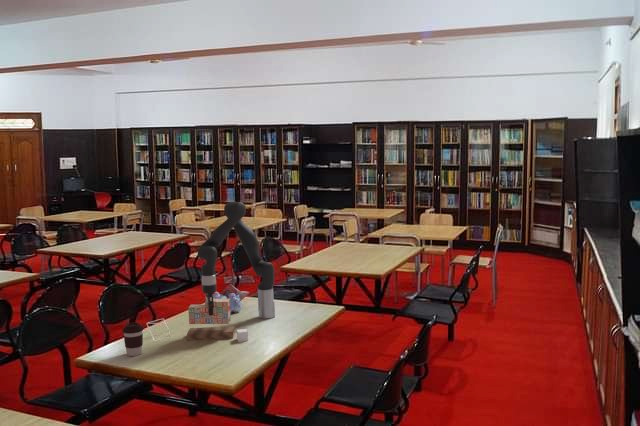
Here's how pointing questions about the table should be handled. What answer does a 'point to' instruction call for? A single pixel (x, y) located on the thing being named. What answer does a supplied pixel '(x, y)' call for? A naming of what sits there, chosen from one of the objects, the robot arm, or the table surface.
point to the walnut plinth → (211, 333)
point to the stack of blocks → (201, 313)
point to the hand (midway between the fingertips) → (210, 313)
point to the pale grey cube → (242, 335)
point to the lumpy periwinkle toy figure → (232, 297)
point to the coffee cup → (133, 338)
